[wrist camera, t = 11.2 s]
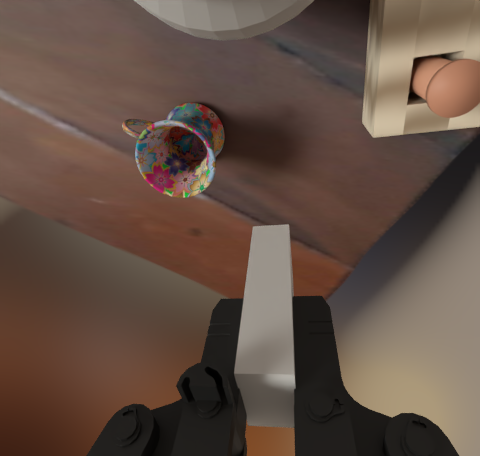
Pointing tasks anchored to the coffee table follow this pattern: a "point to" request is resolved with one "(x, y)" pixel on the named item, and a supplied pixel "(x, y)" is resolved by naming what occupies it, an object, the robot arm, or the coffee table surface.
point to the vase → (224, 16)
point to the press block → (401, 61)
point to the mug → (179, 149)
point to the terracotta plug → (446, 84)
